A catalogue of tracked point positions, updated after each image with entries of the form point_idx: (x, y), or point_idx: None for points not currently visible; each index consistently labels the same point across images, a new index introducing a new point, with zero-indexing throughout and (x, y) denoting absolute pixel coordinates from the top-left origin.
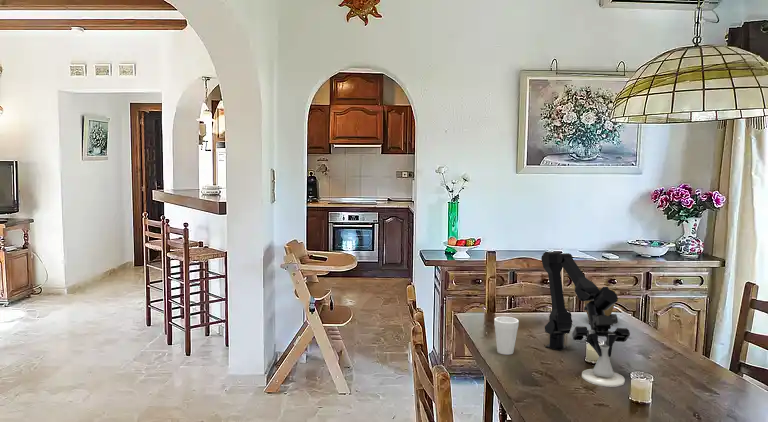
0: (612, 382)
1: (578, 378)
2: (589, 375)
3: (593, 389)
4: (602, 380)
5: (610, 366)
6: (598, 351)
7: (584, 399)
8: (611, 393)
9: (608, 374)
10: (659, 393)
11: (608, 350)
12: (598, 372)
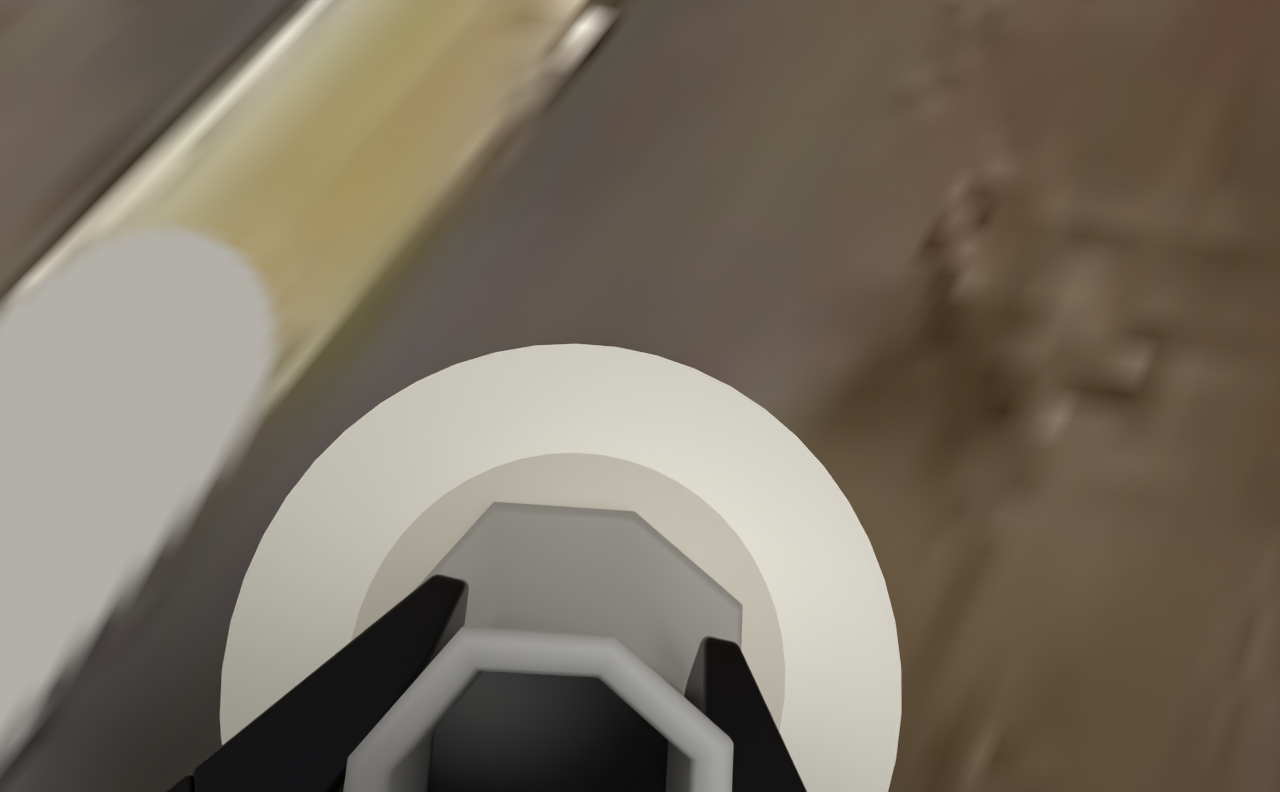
0: (570, 401)
1: (950, 735)
2: (786, 726)
3: (913, 319)
4: (687, 486)
5: (475, 575)
6: (776, 759)
7: (1154, 77)
8: (740, 174)
9: (565, 512)
10: (98, 80)
11: None
12: (715, 595)
